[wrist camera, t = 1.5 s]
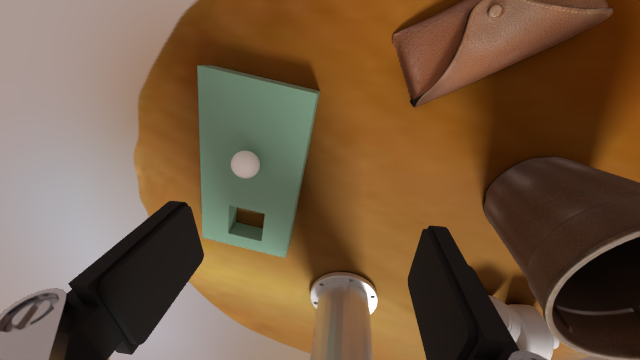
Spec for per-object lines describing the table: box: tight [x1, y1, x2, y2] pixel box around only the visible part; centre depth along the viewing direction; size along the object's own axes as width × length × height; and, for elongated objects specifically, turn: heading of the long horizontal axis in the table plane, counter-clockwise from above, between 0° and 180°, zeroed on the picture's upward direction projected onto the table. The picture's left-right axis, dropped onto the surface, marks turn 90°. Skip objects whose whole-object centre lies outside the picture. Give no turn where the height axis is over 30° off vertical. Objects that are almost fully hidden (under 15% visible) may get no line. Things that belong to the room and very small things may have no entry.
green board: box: [197, 65, 320, 258], centre depth 34 cm, size 26×14×3 cm, turn 168°
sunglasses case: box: [392, 0, 614, 107], centre depth 24 cm, size 18×7×7 cm, turn 118°
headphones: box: [489, 295, 559, 360], centre depth 42 cm, size 18×8×20 cm
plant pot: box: [483, 157, 640, 360], centre depth 25 cm, size 16×16×16 cm
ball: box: [231, 151, 260, 178], centre depth 30 cm, size 4×4×4 cm
